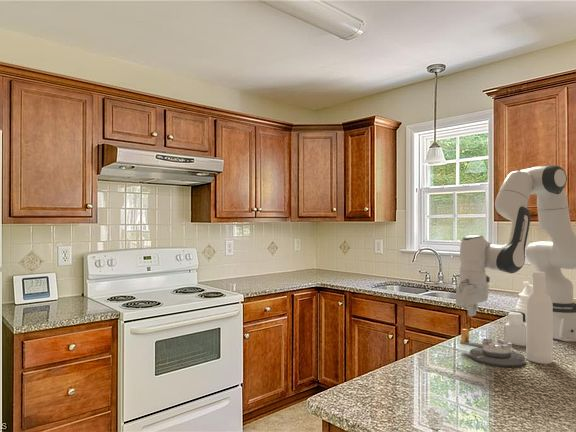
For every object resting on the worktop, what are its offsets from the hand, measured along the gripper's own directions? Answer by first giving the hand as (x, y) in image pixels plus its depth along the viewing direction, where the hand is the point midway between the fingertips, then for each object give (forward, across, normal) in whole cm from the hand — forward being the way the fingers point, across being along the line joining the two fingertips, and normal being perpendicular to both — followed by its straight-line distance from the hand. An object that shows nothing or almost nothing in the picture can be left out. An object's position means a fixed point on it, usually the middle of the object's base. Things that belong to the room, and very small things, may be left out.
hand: (471, 315), depth 160 cm
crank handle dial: (+10, -6, -7) cm, 14 cm away
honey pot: (+11, +70, +2) cm, 71 cm away
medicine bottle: (+12, +20, -9) cm, 25 cm away
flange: (+12, -6, -11) cm, 18 cm away
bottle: (+12, +4, -22) cm, 25 cm away
